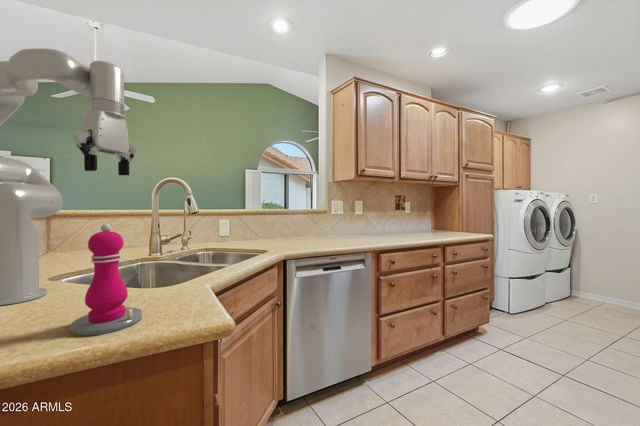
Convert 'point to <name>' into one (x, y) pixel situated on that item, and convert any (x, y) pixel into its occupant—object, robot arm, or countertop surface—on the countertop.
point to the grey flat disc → (105, 324)
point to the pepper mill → (106, 277)
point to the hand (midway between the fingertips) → (108, 173)
